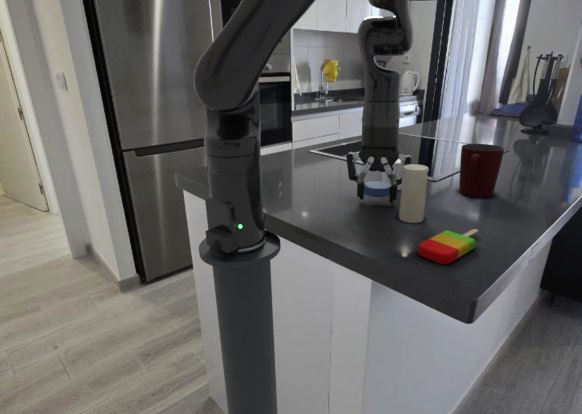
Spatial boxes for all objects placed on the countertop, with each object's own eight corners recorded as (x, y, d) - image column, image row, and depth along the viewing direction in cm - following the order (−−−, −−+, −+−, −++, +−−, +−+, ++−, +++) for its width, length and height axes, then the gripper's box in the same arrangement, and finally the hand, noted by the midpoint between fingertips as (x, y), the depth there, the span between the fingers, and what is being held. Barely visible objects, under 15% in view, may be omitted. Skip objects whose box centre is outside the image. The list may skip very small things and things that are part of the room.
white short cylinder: (393, 192, 92) (396, 164, 90) (374, 185, 98) (376, 159, 95) (413, 187, 96) (416, 160, 93) (394, 181, 101) (396, 155, 99)
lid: (374, 187, 88) (374, 179, 87) (396, 193, 84) (396, 184, 83) (357, 193, 84) (357, 184, 84) (379, 199, 80) (380, 190, 79)
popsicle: (414, 254, 62) (415, 244, 61) (461, 230, 71) (462, 220, 70) (445, 267, 58) (446, 256, 57) (490, 239, 67) (492, 229, 66)
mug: (488, 205, 83) (497, 155, 79) (447, 198, 88) (453, 150, 84) (499, 191, 92) (507, 146, 88) (461, 185, 97) (467, 142, 93)
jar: (418, 224, 73) (423, 171, 70) (394, 219, 76) (398, 167, 72) (427, 217, 77) (432, 166, 73) (404, 212, 80) (408, 163, 76)
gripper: (417, 121, 80) (410, 197, 86) (349, 120, 84) (347, 192, 90) (415, 126, 73) (408, 208, 79) (342, 124, 78) (341, 202, 83)
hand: (376, 199), depth 85 cm, fingers closed on lid, 6 cm apart
